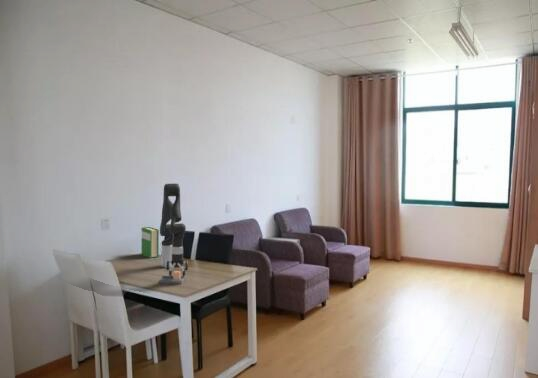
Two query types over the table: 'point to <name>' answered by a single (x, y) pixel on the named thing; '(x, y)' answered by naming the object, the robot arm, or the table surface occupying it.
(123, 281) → the table surface
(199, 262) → the table surface
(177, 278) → the salmon pink block
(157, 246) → the hardback book
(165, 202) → the robot arm
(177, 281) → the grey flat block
